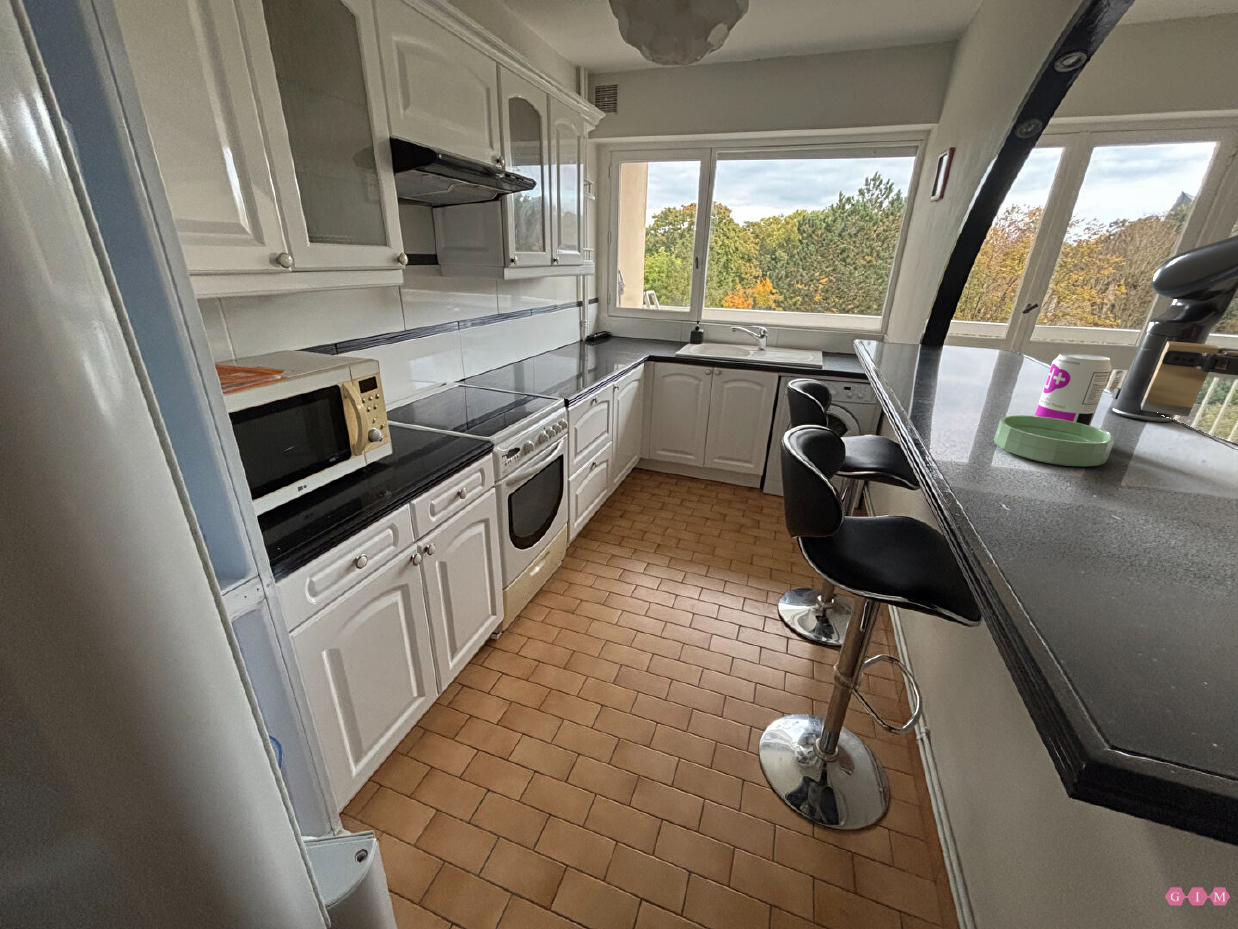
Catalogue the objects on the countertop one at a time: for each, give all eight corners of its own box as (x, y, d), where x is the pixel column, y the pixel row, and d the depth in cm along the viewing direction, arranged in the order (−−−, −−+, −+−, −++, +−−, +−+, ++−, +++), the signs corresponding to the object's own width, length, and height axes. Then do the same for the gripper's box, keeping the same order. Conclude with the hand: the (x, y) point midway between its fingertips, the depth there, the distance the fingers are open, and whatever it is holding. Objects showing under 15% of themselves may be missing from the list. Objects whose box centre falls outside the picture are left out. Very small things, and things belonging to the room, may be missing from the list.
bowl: (986, 433, 97) (993, 411, 95) (1086, 446, 91) (1095, 422, 89) (1002, 459, 84) (1010, 434, 83) (1120, 476, 78) (1131, 449, 77)
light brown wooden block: (1140, 405, 88) (1167, 341, 84) (1185, 411, 85) (1216, 345, 81) (1141, 410, 85) (1169, 344, 81) (1188, 416, 82) (1219, 348, 78)
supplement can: (1040, 439, 94) (1068, 358, 88) (1022, 426, 101) (1047, 351, 96) (1093, 444, 92) (1125, 361, 86) (1070, 431, 99) (1099, 354, 94)
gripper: (1329, 338, 76) (1169, 327, 87) (1360, 350, 67) (1175, 336, 77) (1303, 387, 79) (1151, 371, 90) (1329, 405, 69) (1155, 384, 80)
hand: (1163, 354), depth 83 cm, fingers closed on light brown wooden block, 4 cm apart
